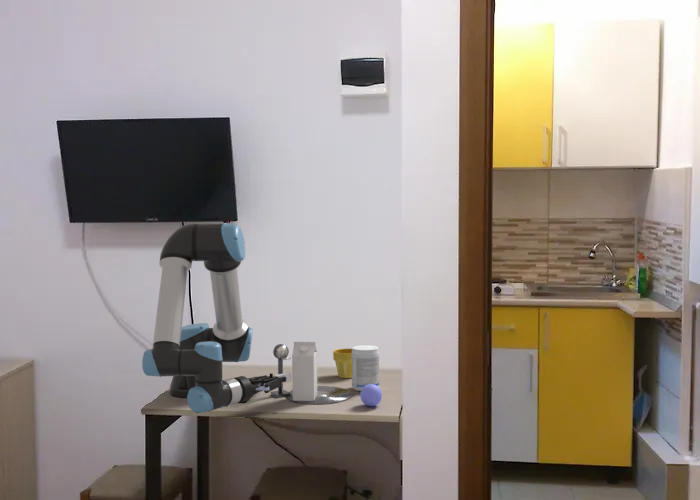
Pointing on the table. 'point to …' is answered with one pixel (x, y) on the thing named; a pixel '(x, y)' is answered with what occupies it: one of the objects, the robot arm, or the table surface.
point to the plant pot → (343, 362)
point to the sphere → (371, 395)
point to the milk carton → (304, 371)
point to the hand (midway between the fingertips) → (289, 376)
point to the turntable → (326, 395)
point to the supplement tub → (365, 366)
